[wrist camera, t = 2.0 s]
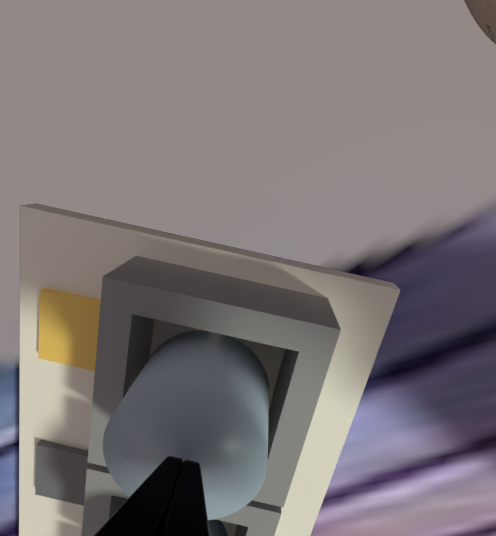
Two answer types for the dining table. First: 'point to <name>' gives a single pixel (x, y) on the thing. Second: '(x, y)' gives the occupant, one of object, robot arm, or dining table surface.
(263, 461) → the button
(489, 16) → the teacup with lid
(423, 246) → the dining table surface
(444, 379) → the dining table surface
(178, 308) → the board
